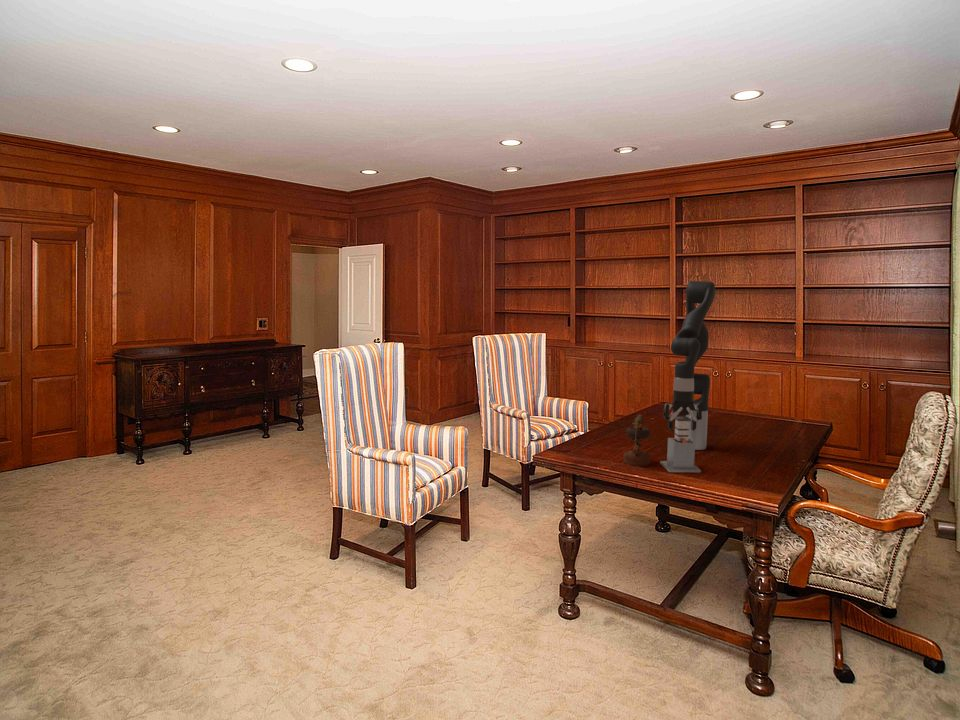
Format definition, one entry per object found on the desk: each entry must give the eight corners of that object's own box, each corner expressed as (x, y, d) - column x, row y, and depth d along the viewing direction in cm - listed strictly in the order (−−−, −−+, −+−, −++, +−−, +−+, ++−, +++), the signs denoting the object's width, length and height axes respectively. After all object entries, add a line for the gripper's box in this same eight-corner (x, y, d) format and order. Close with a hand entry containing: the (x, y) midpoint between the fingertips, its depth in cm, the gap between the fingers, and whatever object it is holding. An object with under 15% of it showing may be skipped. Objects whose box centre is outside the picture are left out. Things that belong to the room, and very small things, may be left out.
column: (671, 463, 236) (673, 416, 234) (684, 463, 236) (686, 416, 234) (675, 466, 231) (677, 419, 229) (688, 466, 231) (690, 419, 229)
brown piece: (652, 467, 233) (650, 417, 231) (624, 468, 235) (621, 418, 233) (650, 457, 248) (647, 410, 246) (623, 458, 250) (620, 411, 248)
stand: (660, 463, 239) (661, 433, 238) (690, 463, 239) (691, 434, 238) (669, 472, 227) (670, 441, 226) (700, 472, 227) (702, 441, 226)
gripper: (698, 387, 234) (696, 428, 235) (662, 387, 234) (660, 427, 235) (705, 390, 226) (703, 432, 228) (668, 390, 226) (666, 432, 228)
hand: (681, 430), depth 232 cm, fingers open, 8 cm apart
